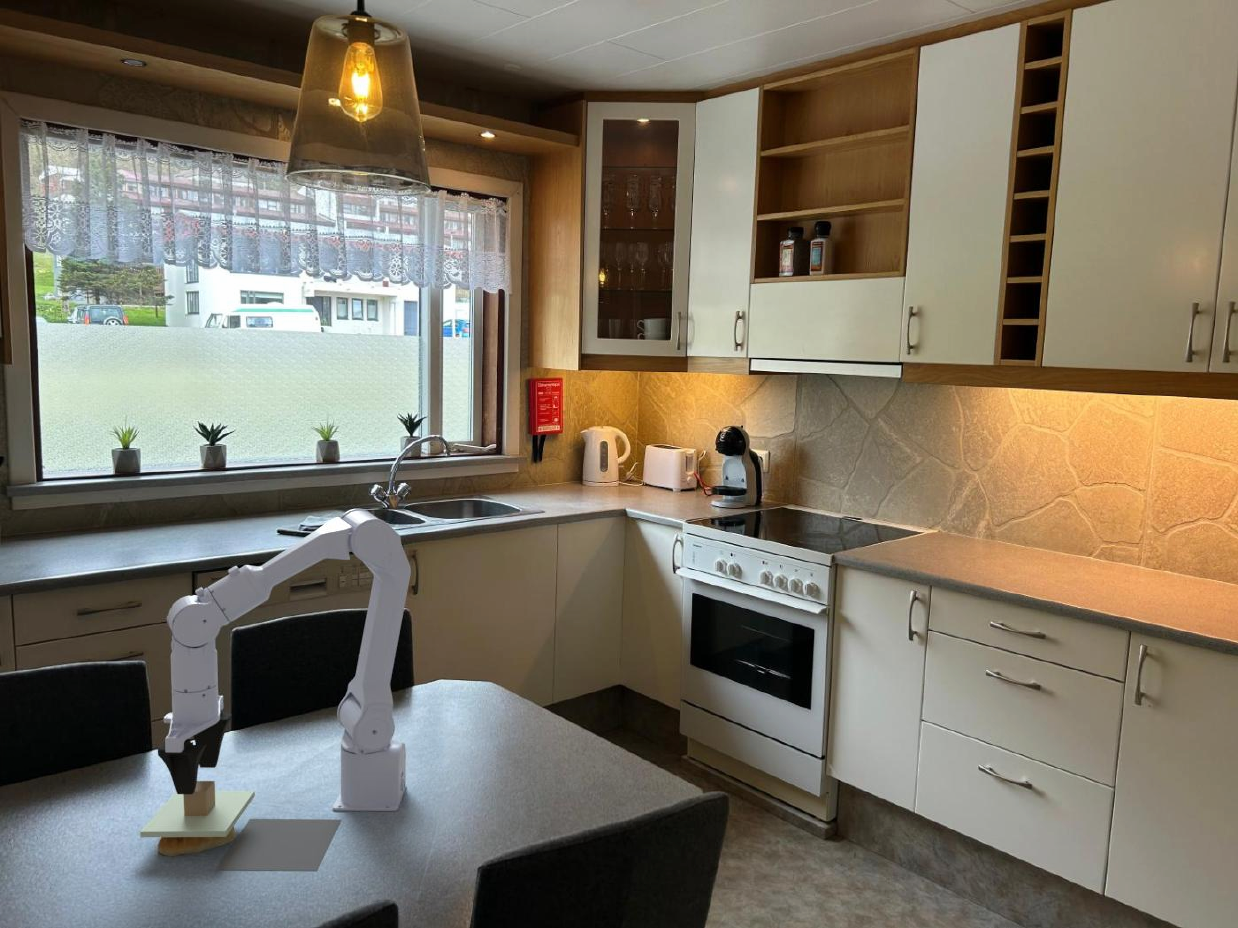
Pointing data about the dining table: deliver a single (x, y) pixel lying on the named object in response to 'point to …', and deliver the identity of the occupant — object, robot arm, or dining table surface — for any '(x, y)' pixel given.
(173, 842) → the pastry
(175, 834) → the cover
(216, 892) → the dining table surface
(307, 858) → the mat
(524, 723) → the dining table surface
